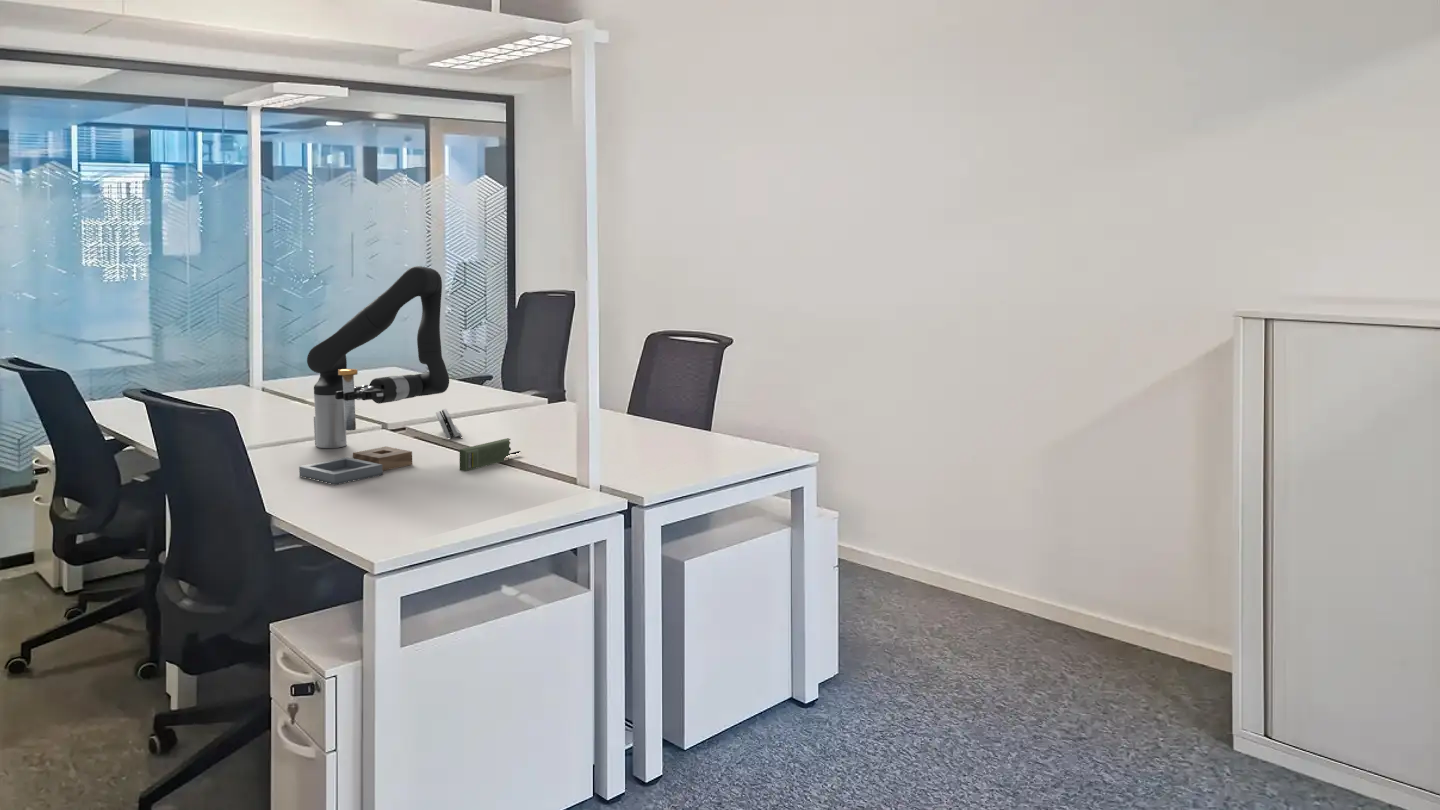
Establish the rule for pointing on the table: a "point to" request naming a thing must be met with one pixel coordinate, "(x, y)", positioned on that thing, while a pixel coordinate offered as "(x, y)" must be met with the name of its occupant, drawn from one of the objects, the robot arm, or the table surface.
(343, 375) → the pin
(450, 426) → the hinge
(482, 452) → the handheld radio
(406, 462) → the socket block
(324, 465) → the tray
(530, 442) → the table surface
